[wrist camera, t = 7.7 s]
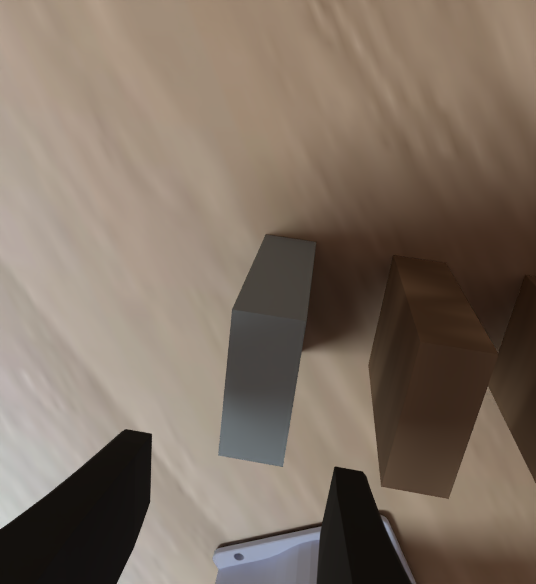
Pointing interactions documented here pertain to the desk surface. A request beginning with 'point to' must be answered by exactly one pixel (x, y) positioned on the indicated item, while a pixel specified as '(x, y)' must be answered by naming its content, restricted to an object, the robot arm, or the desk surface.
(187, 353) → the desk surface
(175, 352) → the desk surface
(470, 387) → the domino
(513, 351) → the domino
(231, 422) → the domino
